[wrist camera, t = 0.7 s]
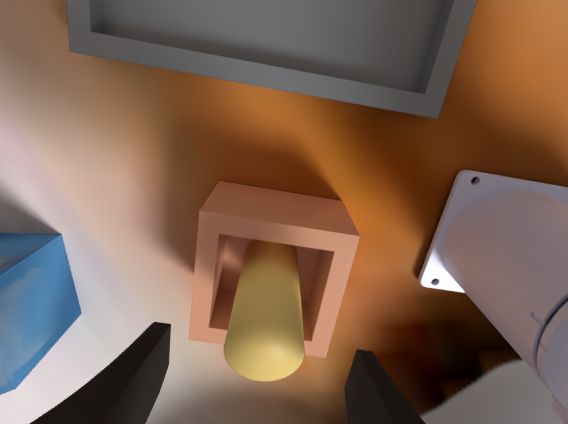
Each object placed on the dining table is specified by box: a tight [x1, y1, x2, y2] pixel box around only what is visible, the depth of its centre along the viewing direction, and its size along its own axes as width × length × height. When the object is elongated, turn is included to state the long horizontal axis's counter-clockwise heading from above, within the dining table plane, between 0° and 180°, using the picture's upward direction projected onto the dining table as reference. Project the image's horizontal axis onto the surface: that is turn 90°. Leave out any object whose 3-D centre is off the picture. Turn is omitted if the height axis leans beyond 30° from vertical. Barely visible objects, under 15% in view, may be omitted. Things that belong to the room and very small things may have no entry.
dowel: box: [224, 239, 305, 381], centre depth 16 cm, size 3×3×8 cm
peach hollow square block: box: [189, 181, 360, 358], centre depth 19 cm, size 8×8×5 cm
